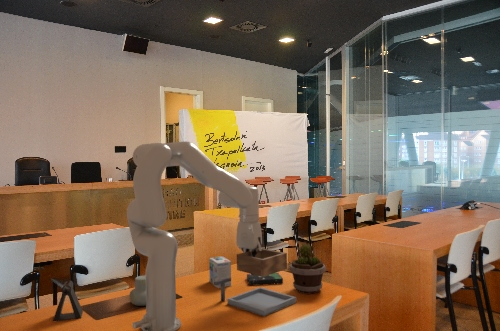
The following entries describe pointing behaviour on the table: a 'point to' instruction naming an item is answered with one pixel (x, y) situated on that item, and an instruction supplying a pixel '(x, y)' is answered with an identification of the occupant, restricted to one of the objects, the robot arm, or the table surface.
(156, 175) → the robot arm
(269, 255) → the frame
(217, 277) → the light bulb box
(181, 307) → the table surface
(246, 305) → the tray
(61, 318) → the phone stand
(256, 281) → the disk drive
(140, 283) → the air freshener
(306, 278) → the flowerpot
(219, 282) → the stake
